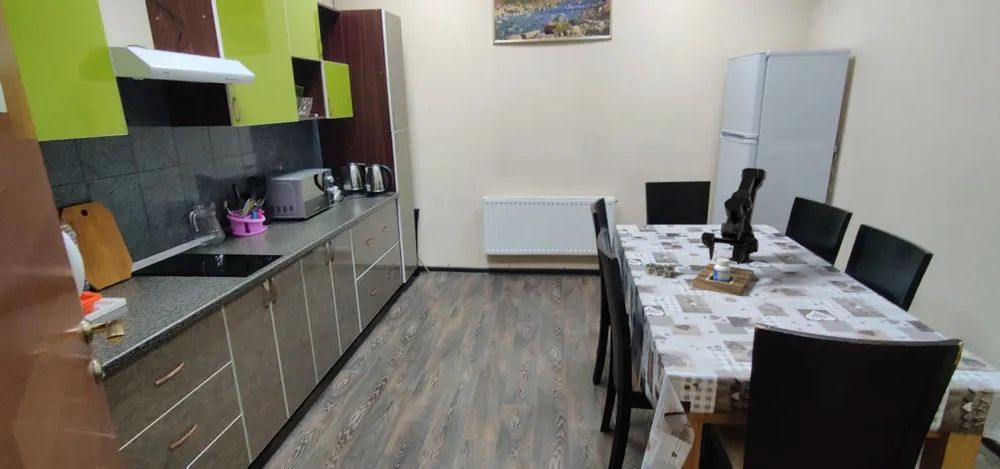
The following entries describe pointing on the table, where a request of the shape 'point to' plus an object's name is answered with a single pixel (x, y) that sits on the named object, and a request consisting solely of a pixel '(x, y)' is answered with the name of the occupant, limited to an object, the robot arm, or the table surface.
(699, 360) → the table surface
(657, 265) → the egg carton
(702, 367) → the table surface
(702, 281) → the socket board
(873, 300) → the table surface
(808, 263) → the table surface
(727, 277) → the pill bottle
